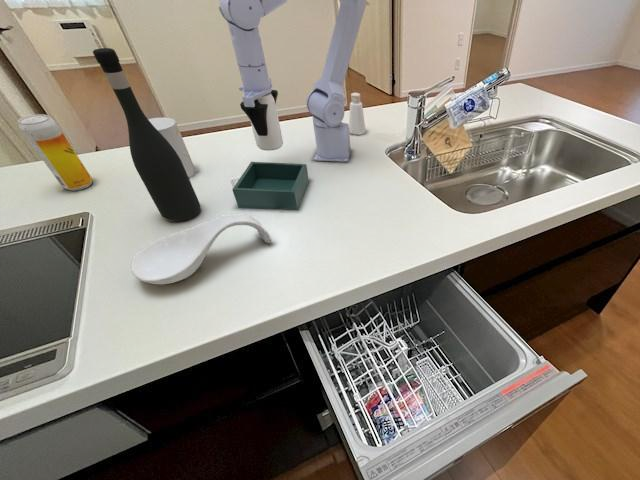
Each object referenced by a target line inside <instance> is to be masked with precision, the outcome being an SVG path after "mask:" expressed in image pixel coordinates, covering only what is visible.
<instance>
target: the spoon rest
mask: <svg viewBox="0 0 640 480" xmlns="http://www.w3.org/2000/svg"><path fill="white" fill-rule="evenodd" d="M236 226H247V227H251V228H253V229H255V230H256V231H257V233H258V235H259V236H260V238H261V240H263V241H264V242H265V243H266V244H271V243H272V238H271V236H270V234H269V232H268V231H267V230H266V229H265V227H263V226H262V224H261V222H260V221H259V220H258V219H256V218H255V217H253V216H252V215H249V214H245V213H227V214H222V215H218V216H216V217H213V218H210V219H208V220H206V221H203V222H201V223H199V224H196V225H193V226H191V227H189V228H186V229H183V230H180V231H177V232H174V233H172V234H170V235H166V236H164V237H160V238H158V239H156V240H154V241H152V242H150V243H148V244H147V245H146V246H144V247H142V248H141V249H140V250H139V251H137V253H135V255H134V257H133V259H132V261H131V263H130V270H131V274H132V275H133V276H134V277H135V278H136V279H137V280H139V281H141V282H144V283H146V284H147V283H148V284H152V285H170V284H175V283H177V282H179V281H183V280H185V279H188V278H189V277H191V276H192V275H193V274H195V272H196V271H197V270H198V269H199V268H200V266H201V265H202V263H203V261H204V260H205V257H206V256H207V254H208V252H209V251H210V249H211V247H212V245H213V244H214V243H215V241H216V240H217V238H218V237H219V236H220V235H221V233H223V232H224V231H225V230H227V229H229V228H232V227H236Z"/></svg>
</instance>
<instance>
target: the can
mask: <svg viewBox="0 0 640 480" xmlns="http://www.w3.org/2000/svg"><path fill="white" fill-rule="evenodd" d="M257 100H258V102H260V104H268V107H267V114H266V119H267V129H268V135H267V136H258V134H257V132H256V130H255V128H254V126H253V124H252V122H251V120H250V119H249V121H250V126H251V129H252V132H253V137H254V141H255V144H256V147H257V148H258V149H260V150H262V151H275V150H279V149H281V148H282V147H283V145H284V140H283V135H282V134H283V133H282V129H281V125H280V120H279V115H278V110H277V104H276V105H275V100H274V98H273V96H272V95H271V92H270V93H268V94H266V95H263V96H261V97H259V98H257Z"/></svg>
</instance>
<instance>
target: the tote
mask: <svg viewBox="0 0 640 480" xmlns="http://www.w3.org/2000/svg"><path fill="white" fill-rule="evenodd" d="M309 182H310V177H309V173H308V167H307V163H292V162H291V163H290V162H270V161H269V162H265V161H250V162H249V164H248V165H247V167H246V169H245V170H244V172H243V173H242V174H241V176H240V177H239V178H238V181H237V182H236V183H235V184H234V186H233V187H232V193H233V196H234V200H235V202H236V204H237V208H244V209H266V210H267V209H269V210H270V209H271V210H294V211H298V210H299V207H300V206H301V202H302V199H303V197H304V195H305V193H306V190H307V187H308V185H309Z"/></svg>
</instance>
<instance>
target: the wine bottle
mask: <svg viewBox="0 0 640 480" xmlns="http://www.w3.org/2000/svg"><path fill="white" fill-rule="evenodd" d="M92 54H93V56H94V58H95V60H96V62H97V64H99V66H100V67H101V69H102V71H103V73H104V75H105V77H106V78H107V81H108V83H109V85H110V87H111V89H112V91H113V93H114V94H115V97H116V98H117V100H118V102H119V104H120V106H121V109H122V111H123V113H124V116H125V120H126V123H127V131H128V142H129V150H130V156H131V159H132V162H133V165H134V168H135V170H136V171H137V174H138V175H139V177H140V179H141V181H142V183H143V185H144V186H145V188H146V190H147V192H148V194H149V196H150V197H151V199H152V201H153V203H154V205H155V207H156V209H157V210H158V212H159V214H160V216H161V217H162V218H163V219H165V220H167V221H171V222H183V221H187V220H189V219H192V218H194V217H195V216H197V215H198V214H199V212H200V211H201V203H200V201H199V198H198V196H197V193H196V191H195V189H194V186H193V185H192V182H191V180H190V177H189V178H188V175H187V173H186V171H185V168H184V166H183V164H182V161H181V159H180V158H179V156H178V154H177V153H176V151H175V150H174V149H173V147H172V146H171V145H170V143H169V142H168V141H167V140H166V139H165V138H164V137H163V135H162V134H161V133H160V132H159V131H158V130H157V129H156V128H155V127H154V126H153V125H152V124H151V122H150V121H149V120H148V119H149V118H148V117H147V116H146V114H145V113H144V111H143V110H142V108H141V106H140V104H139V102H138V100H137V98H136V96H135V94H134V92H133V89H132V87H131V85H130V83H129V79H128V78H127V75H126V74H125V71H124V69H123V68H122V65H121V63H120V59H119V57H118V54H117V52H116V51H115V49H113V48H110V47H102V48H96V49H93V51H92Z"/></svg>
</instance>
